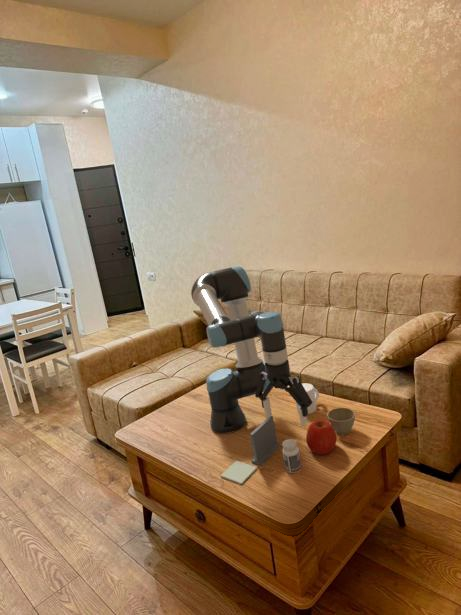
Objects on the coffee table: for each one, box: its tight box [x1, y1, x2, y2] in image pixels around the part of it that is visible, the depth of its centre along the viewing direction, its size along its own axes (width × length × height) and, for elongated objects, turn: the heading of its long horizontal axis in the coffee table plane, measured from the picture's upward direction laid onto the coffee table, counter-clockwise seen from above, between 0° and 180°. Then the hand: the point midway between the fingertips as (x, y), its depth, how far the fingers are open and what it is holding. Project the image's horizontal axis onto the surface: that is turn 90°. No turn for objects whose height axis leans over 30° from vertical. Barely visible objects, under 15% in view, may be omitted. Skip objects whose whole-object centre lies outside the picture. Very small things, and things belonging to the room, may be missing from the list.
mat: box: [220, 460, 258, 485], centre depth 144 cm, size 9×9×1 cm
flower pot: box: [327, 407, 356, 436], centre depth 156 cm, size 10×10×7 cm
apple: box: [305, 419, 338, 456], centre depth 148 cm, size 11×11×11 cm
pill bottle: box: [281, 438, 303, 474], centre depth 140 cm, size 6×6×10 cm
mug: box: [295, 382, 320, 415], centre depth 177 cm, size 8×10×12 cm
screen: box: [249, 415, 281, 466], centre depth 150 cm, size 4×13×12 cm, turn 141°
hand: (286, 420), depth 137 cm, fingers open, 13 cm apart
